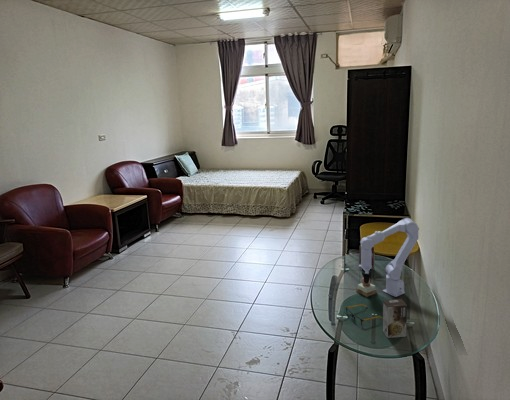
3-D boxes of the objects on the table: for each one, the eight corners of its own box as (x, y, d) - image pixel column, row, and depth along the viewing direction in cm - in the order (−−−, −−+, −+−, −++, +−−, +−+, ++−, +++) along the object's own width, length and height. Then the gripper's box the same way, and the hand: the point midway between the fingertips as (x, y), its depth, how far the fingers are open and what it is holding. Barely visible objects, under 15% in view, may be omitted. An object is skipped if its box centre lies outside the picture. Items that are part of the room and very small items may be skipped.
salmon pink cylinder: (371, 285, 219) (371, 278, 219) (366, 287, 217) (366, 280, 216) (365, 282, 223) (365, 276, 222) (360, 284, 221) (360, 278, 220)
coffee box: (400, 329, 182) (401, 298, 179) (406, 336, 176) (407, 305, 173) (382, 330, 182) (382, 299, 179) (387, 338, 176) (388, 306, 172)
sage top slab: (375, 289, 219) (375, 285, 219) (366, 293, 216) (366, 289, 215) (366, 285, 225) (366, 281, 225) (357, 288, 222) (357, 284, 221)
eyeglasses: (344, 314, 200) (344, 307, 199) (367, 308, 204) (367, 301, 204) (360, 327, 187) (360, 320, 186) (384, 320, 191) (385, 313, 190)
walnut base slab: (376, 293, 220) (376, 289, 219) (366, 297, 216) (367, 293, 215) (365, 288, 227) (365, 284, 226) (356, 292, 223) (356, 288, 222)
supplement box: (360, 270, 251) (360, 247, 248) (359, 267, 256) (359, 245, 253) (373, 269, 251) (374, 247, 248) (371, 266, 256) (372, 244, 252)
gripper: (358, 253, 224) (358, 274, 227) (359, 262, 211) (359, 285, 214) (370, 253, 223) (370, 275, 226) (372, 263, 209) (372, 286, 212)
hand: (366, 280), depth 220 cm, fingers open, 7 cm apart
